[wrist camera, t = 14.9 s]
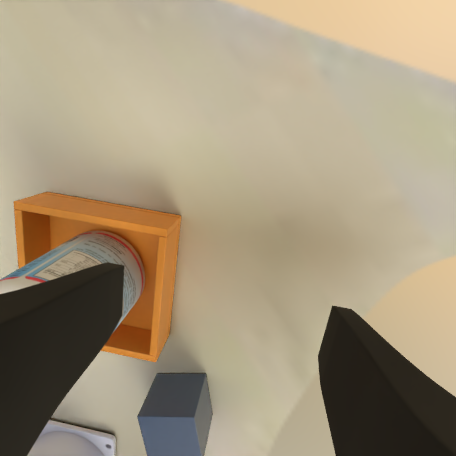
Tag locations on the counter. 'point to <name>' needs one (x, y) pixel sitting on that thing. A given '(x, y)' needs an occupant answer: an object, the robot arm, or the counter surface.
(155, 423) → the blue block
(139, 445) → the counter surface
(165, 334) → the amber tray
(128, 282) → the pill bottle
